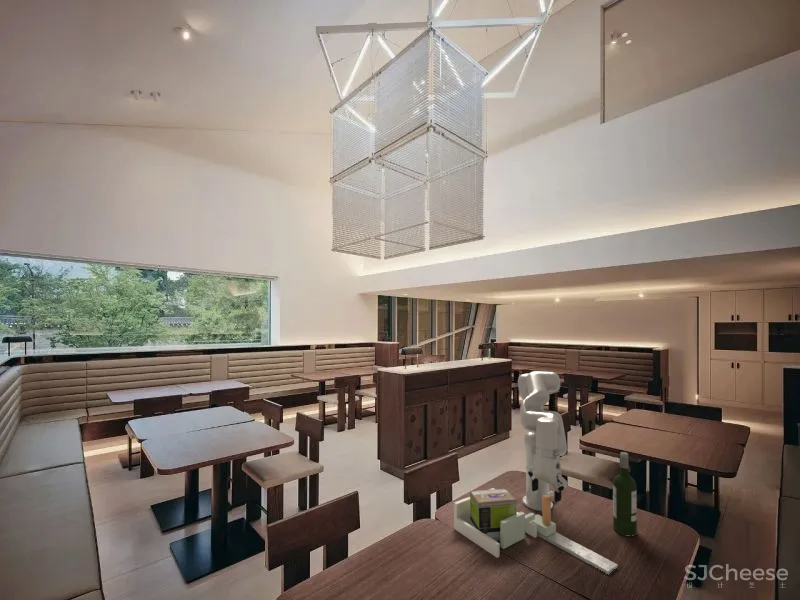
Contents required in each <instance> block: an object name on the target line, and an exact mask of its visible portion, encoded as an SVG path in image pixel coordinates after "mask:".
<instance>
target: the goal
mask: <svg viewBox="0 0 800 600" xmlns="http://www.w3.org/2000/svg"><path fill="white" fill-rule="evenodd" d="M492 489H495V488H494V487H492V488H489V489H488V490H492ZM453 529H454V530H455V531H457V532H459V533H460V534H461V535H462V536H464V537H465V538H467V539H468V540H470V541H471V542H472V543H474V544H476V545H477V546H479V547H480V548H482V549H483V550H485V551H486V552H488V553H489V554H490V555H492V556H494V557H495V558H497V559H498V558H499V557H500V548H501V547H500V543H499V542H498V541H495V540H493V539H492V538H490V537H489V536H487V535H485V534H484V533H482V532H481V531H479V530H478V529H476V528H474V527H473V526H471V525H470V496H468V497H466V498H462V499H460V500H458V501H454V503H453ZM525 534H528V535H529V536H531V537H532V538H537V537H538V536H537V524H535V523H533V522H529V523H527V524H525Z"/></svg>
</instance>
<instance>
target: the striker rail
mask: <svg viewBox="0 0 800 600" xmlns="http://www.w3.org/2000/svg"><path fill="white" fill-rule="evenodd" d="M516 513H517V514H518V513H519V512H518V511H516ZM537 537H539V538H540V539H543V540H545V541H546V542H548V543H550V544H552V545H554V546H555V547H558V549H561V550H562V551H565V552H566V553H568V554H570V555H572V556H573V557H574V558H576V559H579V560H581V561H582V562H583V563H586V564H588V565H589V564H590V565H589V566H591V565H592V566H591V567H593V566H594V567H593V568H595V569H597V568H598V569H599V570H598V569H597V570H598V571H600V570H601V572H602V571H603V572H602V573H604V572H605V573H604V574H606V575H607V574H608V576H609V575H611V574H612V573H613V572H614V571H615V570H614V569H616V568H617V567H618V564H617V562H616V563H615V562H614V561H612V560H610V559H608V558H606V557H604V556H602V555H600V554H598V553H596V552H594V551H593V550H591V549H588V548H587V547H585V546H583V545H582V544H579V543H577V542H575V541H573V540H572V539H570V538H568V537H566V536H564V535H562V534H561V533H559V532H557V531H556V532H554V533H552V534H551V535H549V536H547V537H546V536H544V535H542V534H541V533H539V532H537ZM618 568H619V567H618ZM618 568H617V569H618ZM617 569H616V570H617ZM613 570H614V571H613ZM612 571H613V572H612ZM611 572H612V573H611ZM610 573H611V574H610Z"/></svg>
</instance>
